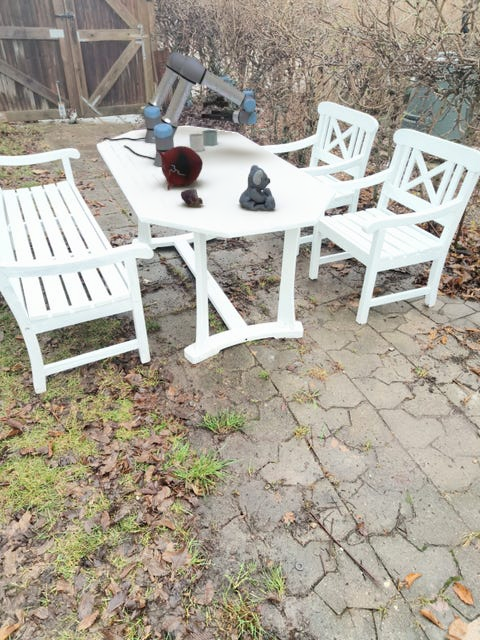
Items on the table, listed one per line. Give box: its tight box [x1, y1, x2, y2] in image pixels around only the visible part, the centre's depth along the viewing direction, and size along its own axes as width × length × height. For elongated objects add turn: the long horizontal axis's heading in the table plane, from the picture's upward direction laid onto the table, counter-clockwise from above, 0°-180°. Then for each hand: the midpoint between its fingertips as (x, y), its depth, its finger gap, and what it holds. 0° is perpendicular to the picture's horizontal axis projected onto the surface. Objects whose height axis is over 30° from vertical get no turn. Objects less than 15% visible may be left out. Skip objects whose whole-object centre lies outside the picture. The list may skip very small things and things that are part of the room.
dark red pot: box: [158, 145, 203, 191], centre depth 255 cm, size 21×24×25 cm
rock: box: [180, 188, 204, 207], centre depth 229 cm, size 12×9×10 cm
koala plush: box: [238, 164, 276, 211], centre depth 224 cm, size 17×18×20 cm
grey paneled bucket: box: [188, 132, 205, 153], centre depth 321 cm, size 10×10×10 cm
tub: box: [201, 129, 218, 147], centre depth 335 cm, size 11×11×9 cm
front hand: (206, 114), depth 306 cm, fingers open, 13 cm apart
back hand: (212, 106), depth 332 cm, fingers open, 13 cm apart
